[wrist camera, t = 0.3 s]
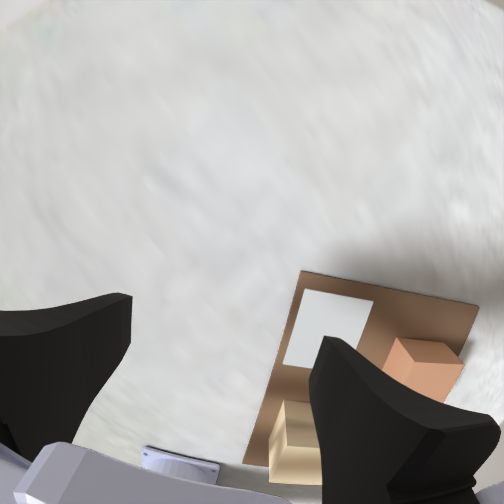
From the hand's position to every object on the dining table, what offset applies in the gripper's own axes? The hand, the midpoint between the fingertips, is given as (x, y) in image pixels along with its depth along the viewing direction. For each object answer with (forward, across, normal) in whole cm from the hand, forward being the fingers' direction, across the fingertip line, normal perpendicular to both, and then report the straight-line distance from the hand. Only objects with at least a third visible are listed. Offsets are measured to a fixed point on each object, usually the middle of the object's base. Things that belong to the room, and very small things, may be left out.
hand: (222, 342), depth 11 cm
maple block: (+9, -8, +12) cm, 17 cm away
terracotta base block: (+9, -15, +6) cm, 18 cm away
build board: (+10, -12, +9) cm, 18 cm away
